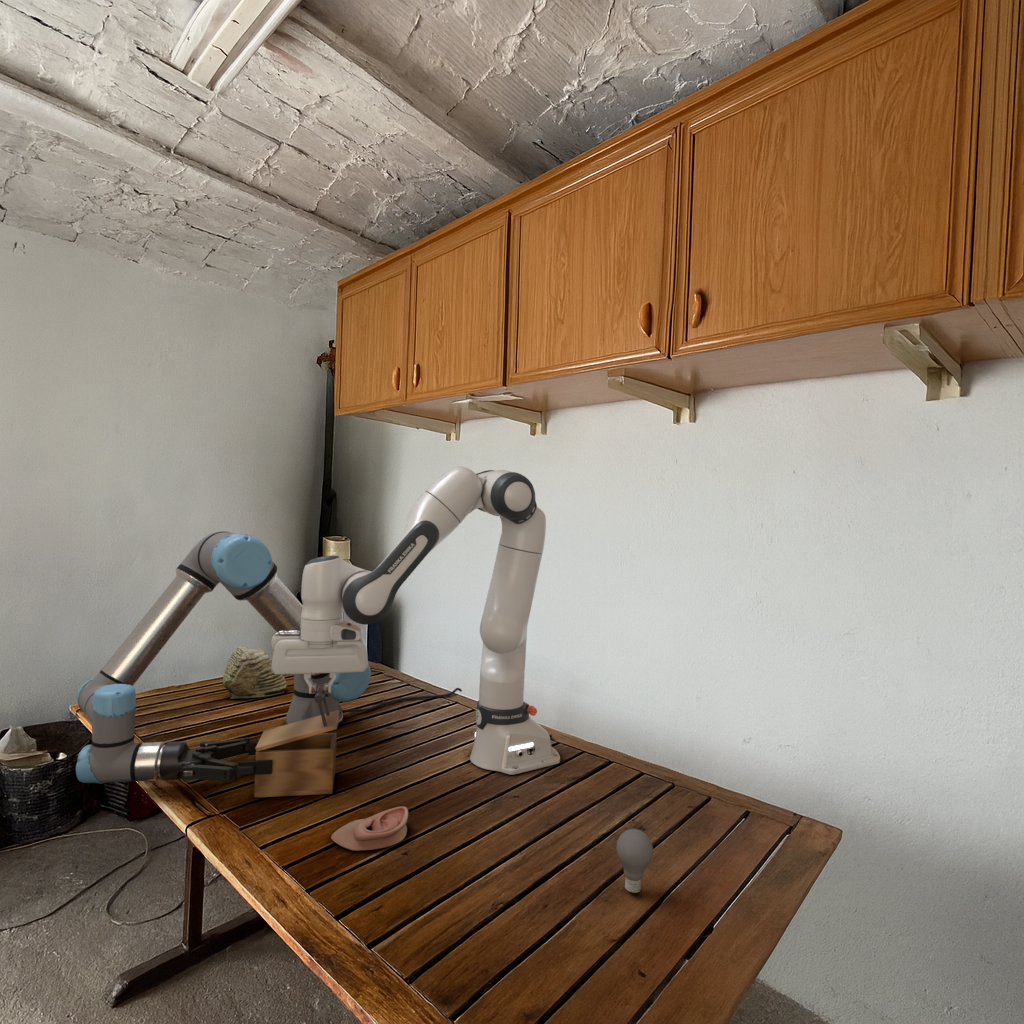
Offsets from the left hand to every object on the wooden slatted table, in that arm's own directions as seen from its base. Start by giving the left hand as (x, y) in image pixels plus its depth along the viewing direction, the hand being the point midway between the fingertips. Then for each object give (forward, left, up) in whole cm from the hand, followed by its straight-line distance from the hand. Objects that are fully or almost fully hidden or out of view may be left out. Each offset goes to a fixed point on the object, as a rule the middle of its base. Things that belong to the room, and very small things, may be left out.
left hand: (276, 756), depth 137 cm
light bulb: (-20, +76, -7) cm, 79 cm away
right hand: (-7, +6, +14) cm, 16 cm away
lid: (-4, +3, +5) cm, 7 cm away
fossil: (-29, -61, -7) cm, 67 cm away
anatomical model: (-1, +31, -7) cm, 32 cm away
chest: (-3, +3, -7) cm, 8 cm away
